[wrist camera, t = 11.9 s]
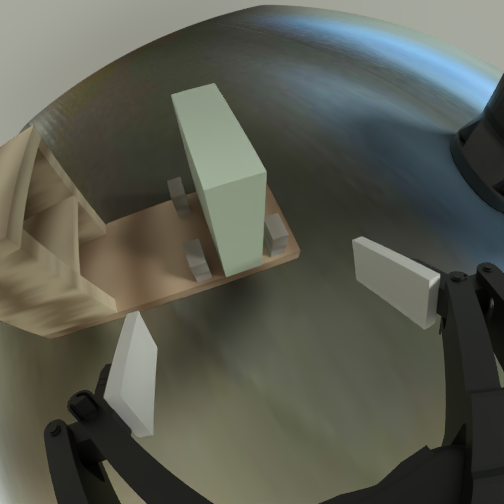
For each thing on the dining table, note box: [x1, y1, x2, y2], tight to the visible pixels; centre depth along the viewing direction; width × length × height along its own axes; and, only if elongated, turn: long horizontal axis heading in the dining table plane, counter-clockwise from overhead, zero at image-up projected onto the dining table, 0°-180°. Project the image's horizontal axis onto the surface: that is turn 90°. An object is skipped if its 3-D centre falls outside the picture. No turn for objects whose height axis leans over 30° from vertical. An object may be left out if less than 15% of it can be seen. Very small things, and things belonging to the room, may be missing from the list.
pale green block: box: [171, 83, 267, 277], centre depth 19 cm, size 4×9×11 cm, turn 21°
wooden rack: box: [0, 125, 301, 339], centre depth 18 cm, size 25×9×15 cm, turn 110°
